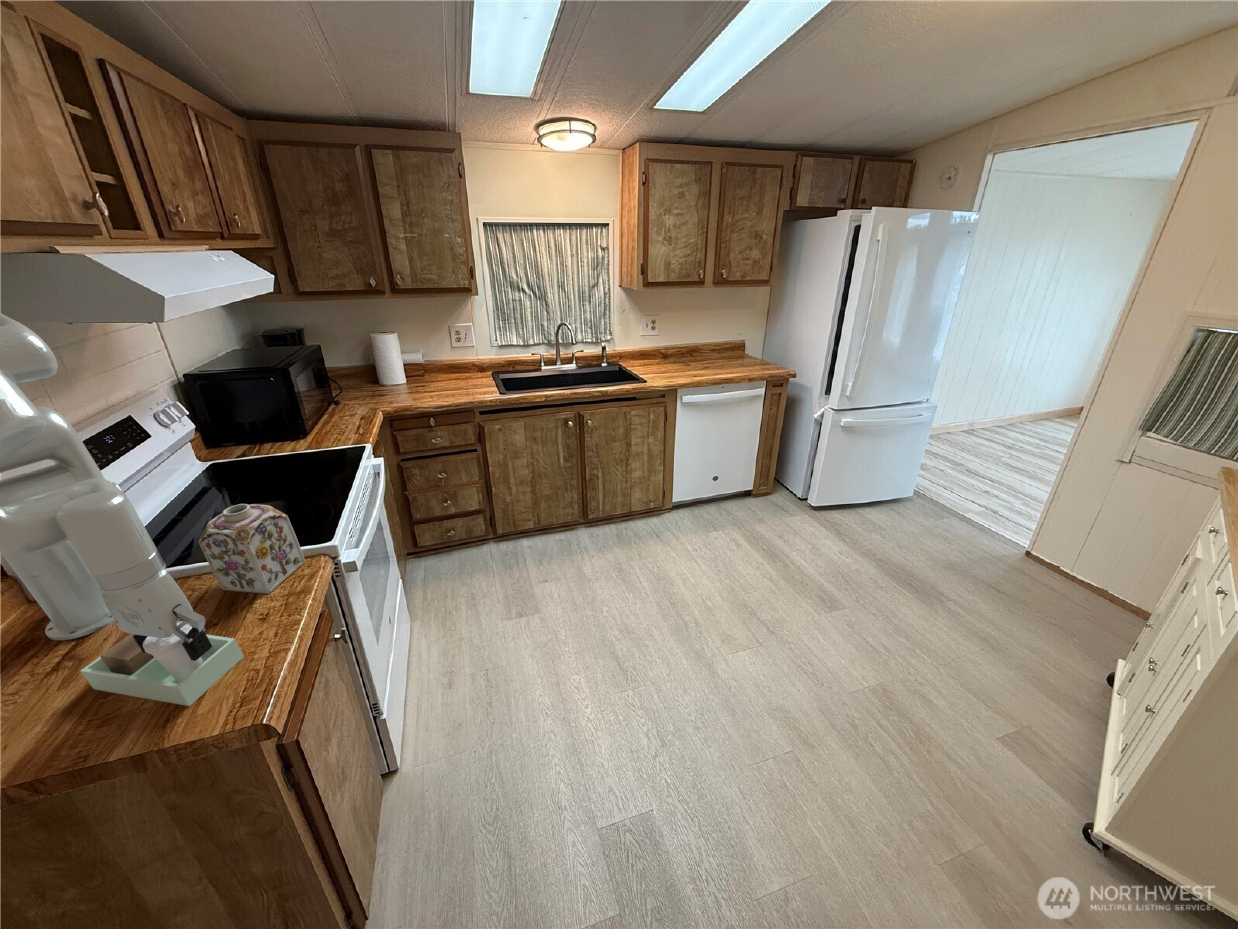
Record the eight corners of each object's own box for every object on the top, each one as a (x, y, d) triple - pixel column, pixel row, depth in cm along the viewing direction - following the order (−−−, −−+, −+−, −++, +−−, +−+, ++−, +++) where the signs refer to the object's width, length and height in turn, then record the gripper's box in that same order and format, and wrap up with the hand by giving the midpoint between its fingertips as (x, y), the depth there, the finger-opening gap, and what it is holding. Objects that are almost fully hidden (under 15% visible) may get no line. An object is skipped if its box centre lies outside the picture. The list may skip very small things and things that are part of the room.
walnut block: (117, 680, 83) (99, 655, 80) (153, 653, 88) (137, 629, 85) (145, 685, 82) (128, 660, 79) (179, 657, 87) (165, 633, 84)
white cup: (223, 659, 86) (191, 600, 80) (197, 690, 80) (159, 628, 74) (187, 661, 86) (152, 602, 80) (158, 692, 80) (117, 631, 74)
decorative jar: (220, 592, 104) (185, 522, 96) (263, 559, 114) (234, 493, 106) (270, 595, 102) (238, 525, 94) (308, 562, 112) (282, 496, 105)
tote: (95, 691, 81) (80, 670, 79) (157, 645, 90) (144, 625, 88) (191, 708, 78) (177, 687, 76) (245, 658, 87) (234, 638, 85)
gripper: (55, 579, 71) (112, 661, 78) (150, 592, 68) (199, 675, 76) (112, 549, 78) (159, 627, 85) (200, 559, 75) (241, 639, 82)
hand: (178, 650), depth 80 cm, fingers open, 9 cm apart
